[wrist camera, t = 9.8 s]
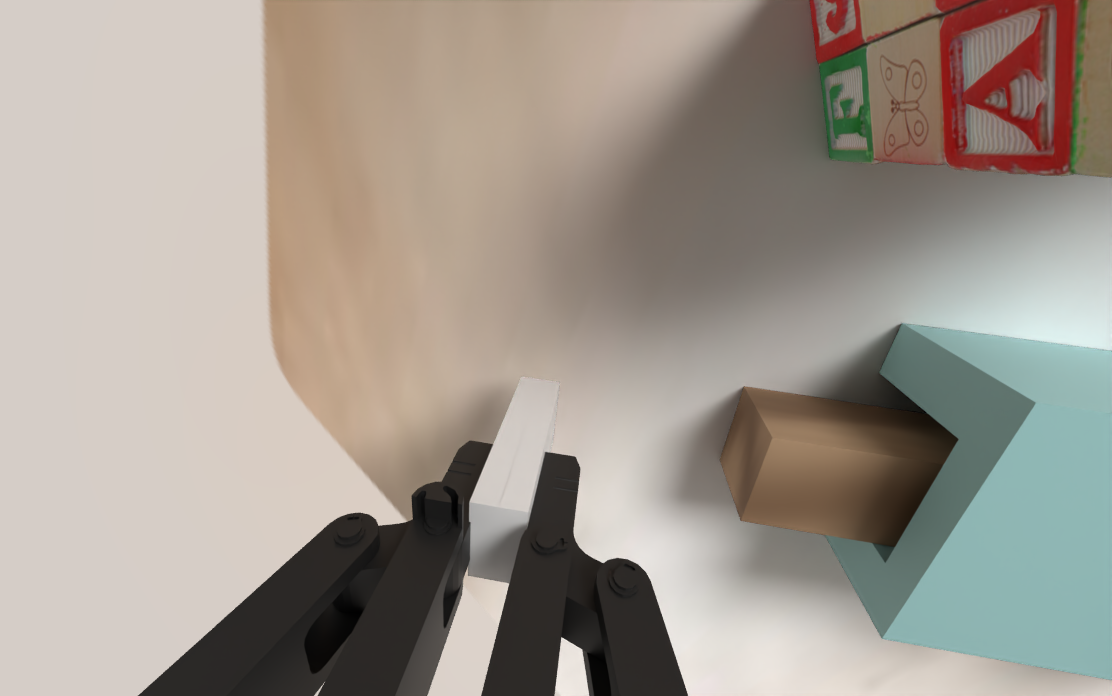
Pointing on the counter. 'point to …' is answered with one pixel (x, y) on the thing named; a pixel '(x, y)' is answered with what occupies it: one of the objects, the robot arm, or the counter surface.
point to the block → (1002, 505)
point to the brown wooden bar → (831, 464)
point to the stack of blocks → (968, 83)
